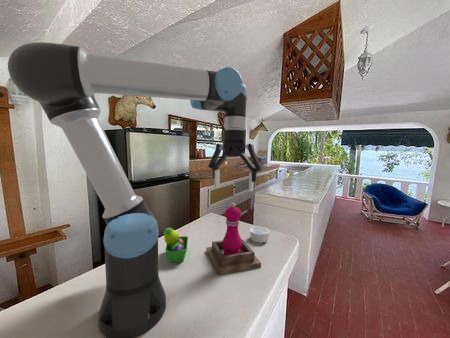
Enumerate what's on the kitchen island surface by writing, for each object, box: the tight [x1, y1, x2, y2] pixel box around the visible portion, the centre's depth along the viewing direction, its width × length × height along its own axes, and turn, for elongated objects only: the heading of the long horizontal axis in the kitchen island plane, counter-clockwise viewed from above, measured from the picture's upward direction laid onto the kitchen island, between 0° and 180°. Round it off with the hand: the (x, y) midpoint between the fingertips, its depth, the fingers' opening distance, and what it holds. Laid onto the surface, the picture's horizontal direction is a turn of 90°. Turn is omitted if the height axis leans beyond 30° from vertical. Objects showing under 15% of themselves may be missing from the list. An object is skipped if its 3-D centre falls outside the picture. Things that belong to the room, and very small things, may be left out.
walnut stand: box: [205, 238, 262, 276], centre depth 74 cm, size 16×16×4 cm
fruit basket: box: [163, 227, 189, 263], centre depth 75 cm, size 11×9×11 cm
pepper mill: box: [222, 202, 242, 256], centre depth 73 cm, size 7×7×20 cm
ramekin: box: [249, 226, 270, 244], centre depth 91 cm, size 9×9×4 cm
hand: (233, 188), depth 72 cm, fingers open, 13 cm apart
